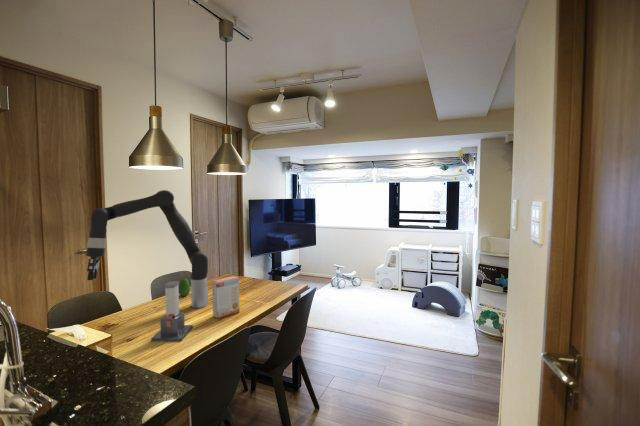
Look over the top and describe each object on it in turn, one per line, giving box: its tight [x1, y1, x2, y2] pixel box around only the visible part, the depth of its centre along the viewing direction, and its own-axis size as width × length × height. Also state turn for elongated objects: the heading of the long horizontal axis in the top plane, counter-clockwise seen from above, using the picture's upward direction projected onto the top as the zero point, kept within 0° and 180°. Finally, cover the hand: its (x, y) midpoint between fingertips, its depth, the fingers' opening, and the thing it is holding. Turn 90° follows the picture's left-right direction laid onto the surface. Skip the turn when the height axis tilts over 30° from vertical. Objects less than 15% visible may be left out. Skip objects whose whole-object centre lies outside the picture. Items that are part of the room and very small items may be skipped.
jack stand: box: [150, 311, 193, 342], centre depth 149 cm, size 14×14×10 cm
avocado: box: [178, 278, 191, 297], centre depth 206 cm, size 8×8×12 cm
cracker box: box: [211, 275, 241, 320], centre depth 174 cm, size 14×6×21 cm, turn 134°
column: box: [163, 280, 180, 317], centre depth 149 cm, size 6×4×24 cm
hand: (91, 279), depth 153 cm, fingers open, 8 cm apart
